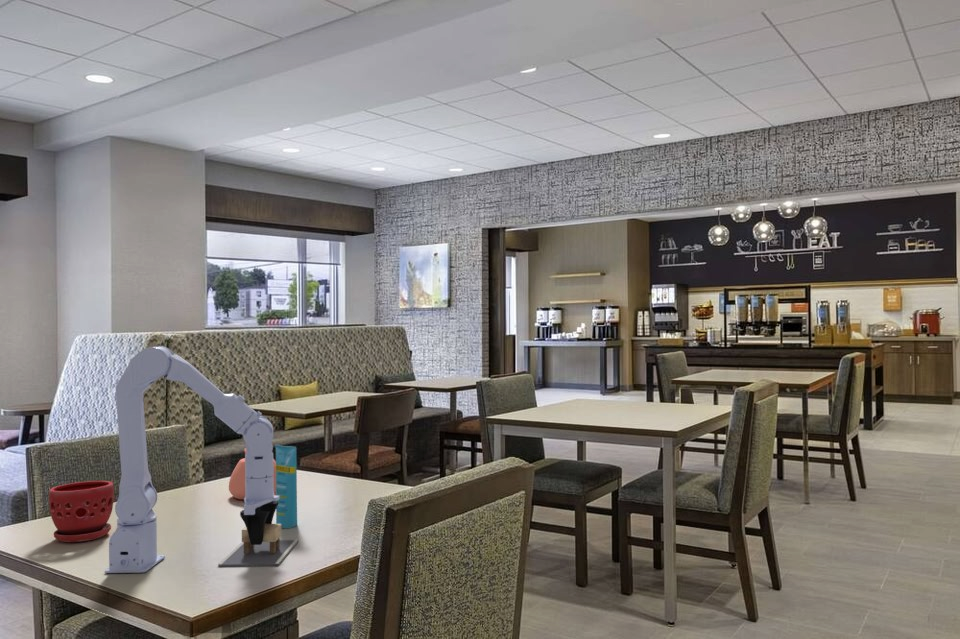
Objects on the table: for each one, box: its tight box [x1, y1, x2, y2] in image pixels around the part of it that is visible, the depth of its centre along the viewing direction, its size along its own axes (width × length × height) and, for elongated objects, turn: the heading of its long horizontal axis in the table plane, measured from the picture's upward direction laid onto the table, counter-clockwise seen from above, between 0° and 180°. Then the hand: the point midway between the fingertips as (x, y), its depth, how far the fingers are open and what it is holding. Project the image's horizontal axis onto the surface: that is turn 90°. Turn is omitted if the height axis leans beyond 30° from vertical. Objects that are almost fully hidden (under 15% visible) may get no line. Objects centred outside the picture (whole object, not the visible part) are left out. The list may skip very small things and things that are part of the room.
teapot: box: [228, 447, 276, 501], centre depth 207 cm, size 22×15×12 cm
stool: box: [241, 523, 282, 554], centre depth 154 cm, size 7×4×5 cm, turn 90°
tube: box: [275, 444, 298, 529], centre depth 175 cm, size 7×5×19 cm, turn 60°
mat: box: [217, 539, 299, 568], centre depth 154 cm, size 16×12×1 cm
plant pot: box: [48, 480, 115, 543], centre depth 168 cm, size 13×13×12 cm
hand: (260, 540), depth 154 cm, fingers closed on stool, 4 cm apart
